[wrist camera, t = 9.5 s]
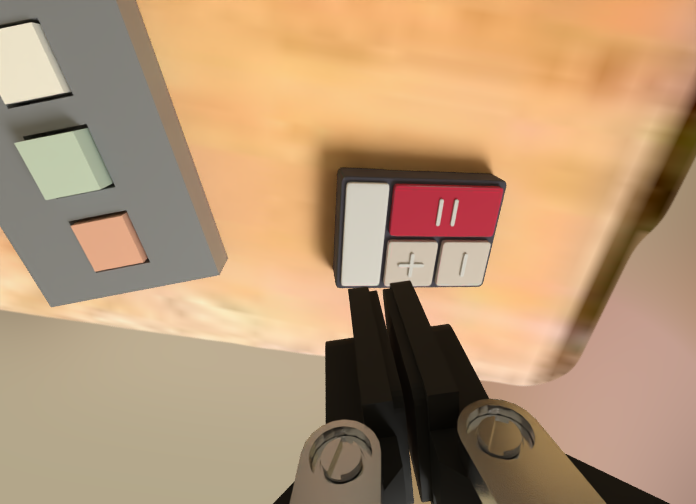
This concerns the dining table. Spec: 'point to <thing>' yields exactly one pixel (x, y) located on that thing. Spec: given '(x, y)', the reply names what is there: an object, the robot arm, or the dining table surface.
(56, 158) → the key sage
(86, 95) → the keypad
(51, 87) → the key ivory
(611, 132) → the dining table surface
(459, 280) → the button control box
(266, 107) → the dining table surface
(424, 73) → the dining table surface
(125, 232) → the key terracotta
